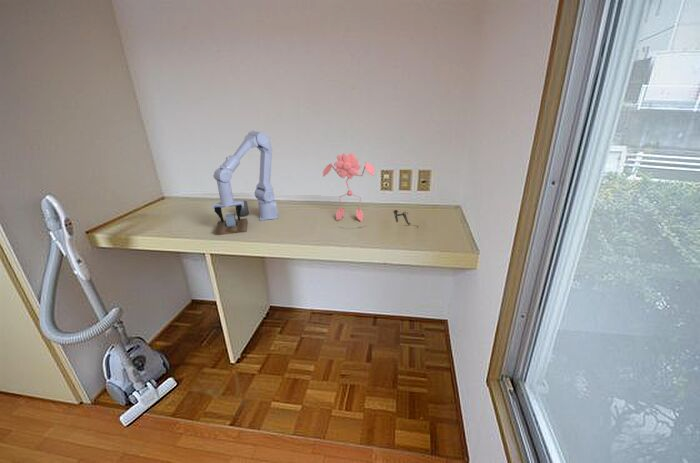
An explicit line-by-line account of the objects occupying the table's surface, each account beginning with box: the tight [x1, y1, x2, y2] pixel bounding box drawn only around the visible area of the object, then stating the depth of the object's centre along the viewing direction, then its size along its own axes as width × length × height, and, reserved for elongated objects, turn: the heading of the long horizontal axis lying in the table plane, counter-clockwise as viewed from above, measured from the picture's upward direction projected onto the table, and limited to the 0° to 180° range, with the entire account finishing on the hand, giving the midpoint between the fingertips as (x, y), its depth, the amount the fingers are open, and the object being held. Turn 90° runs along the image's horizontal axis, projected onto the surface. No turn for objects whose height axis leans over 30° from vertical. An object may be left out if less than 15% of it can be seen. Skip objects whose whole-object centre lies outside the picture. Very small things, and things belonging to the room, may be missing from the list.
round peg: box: [234, 200, 250, 218], centre depth 175 cm, size 6×6×7 cm
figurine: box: [322, 152, 376, 229], centre depth 155 cm, size 15×26×35 cm, turn 78°
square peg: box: [224, 213, 237, 227], centre depth 157 cm, size 4×4×7 cm
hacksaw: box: [393, 209, 419, 230], centre depth 165 cm, size 24×10×2 cm, turn 178°
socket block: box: [214, 217, 249, 236], centre depth 158 cm, size 14×12×2 cm
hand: (230, 220), depth 157 cm, fingers open, 7 cm apart
